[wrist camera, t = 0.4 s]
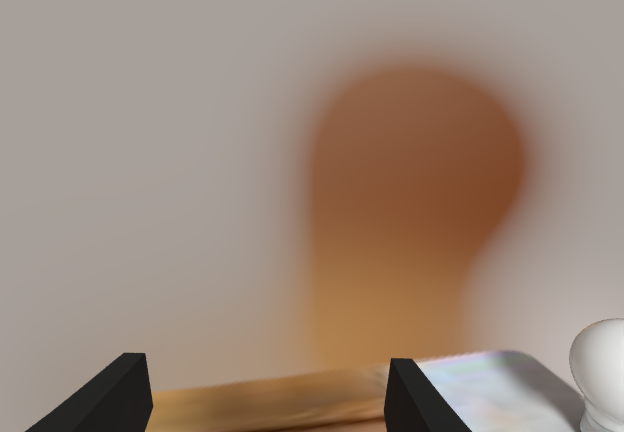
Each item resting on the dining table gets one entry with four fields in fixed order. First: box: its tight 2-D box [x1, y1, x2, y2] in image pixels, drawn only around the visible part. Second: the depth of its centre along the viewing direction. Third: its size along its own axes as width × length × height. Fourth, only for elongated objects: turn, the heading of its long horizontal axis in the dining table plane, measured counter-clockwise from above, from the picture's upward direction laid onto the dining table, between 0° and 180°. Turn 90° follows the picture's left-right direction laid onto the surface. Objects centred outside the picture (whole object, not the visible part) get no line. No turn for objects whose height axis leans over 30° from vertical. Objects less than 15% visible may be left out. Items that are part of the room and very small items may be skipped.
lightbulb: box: [569, 319, 624, 432], centre depth 24 cm, size 6×6×11 cm
